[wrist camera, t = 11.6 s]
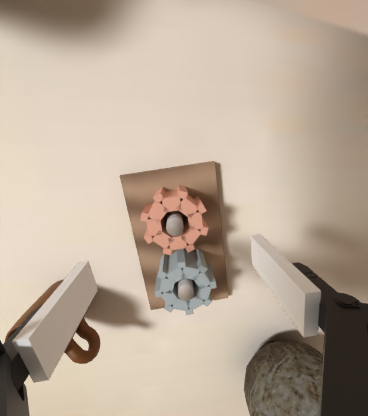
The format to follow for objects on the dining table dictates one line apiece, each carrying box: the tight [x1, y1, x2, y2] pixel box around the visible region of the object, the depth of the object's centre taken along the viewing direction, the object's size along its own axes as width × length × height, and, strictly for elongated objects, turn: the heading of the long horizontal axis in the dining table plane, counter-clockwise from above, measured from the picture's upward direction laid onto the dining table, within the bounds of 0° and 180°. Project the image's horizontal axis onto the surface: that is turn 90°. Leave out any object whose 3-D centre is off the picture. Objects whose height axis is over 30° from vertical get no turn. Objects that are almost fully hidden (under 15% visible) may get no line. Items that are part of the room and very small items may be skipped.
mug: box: [5, 280, 100, 364], centre depth 30 cm, size 12×8×9 cm, turn 57°
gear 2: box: [155, 249, 217, 315], centre depth 30 cm, size 9×9×5 cm
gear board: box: [120, 161, 228, 310], centre depth 29 cm, size 24×14×7 cm, turn 8°
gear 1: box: [140, 185, 208, 255], centre depth 27 cm, size 9×9×5 cm
